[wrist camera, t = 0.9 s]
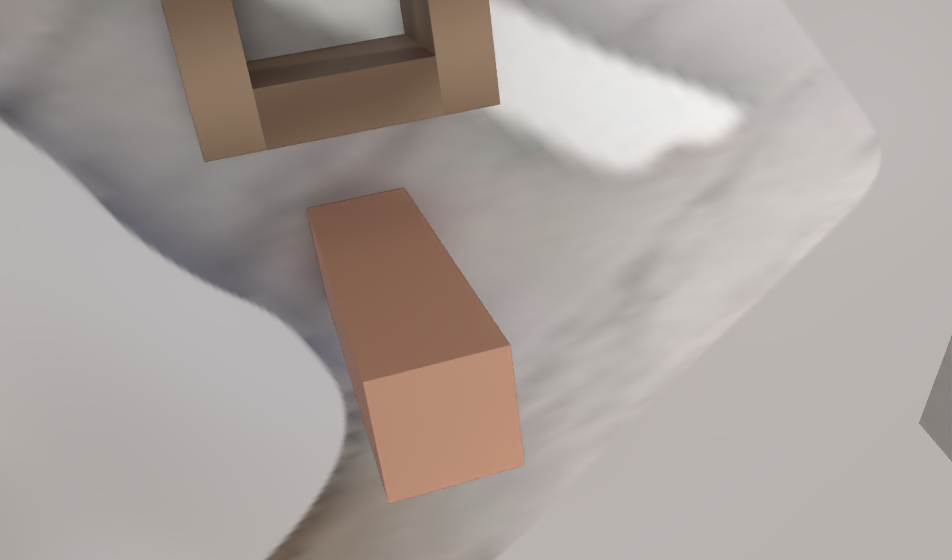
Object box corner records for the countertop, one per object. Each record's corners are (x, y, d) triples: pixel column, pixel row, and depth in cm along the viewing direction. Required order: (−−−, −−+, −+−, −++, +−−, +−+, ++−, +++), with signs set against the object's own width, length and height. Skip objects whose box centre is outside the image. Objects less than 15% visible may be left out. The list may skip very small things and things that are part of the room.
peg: (418, 275, 37) (524, 465, 25) (326, 296, 36) (388, 503, 24) (404, 187, 35) (510, 345, 23) (306, 208, 35) (363, 382, 22)
